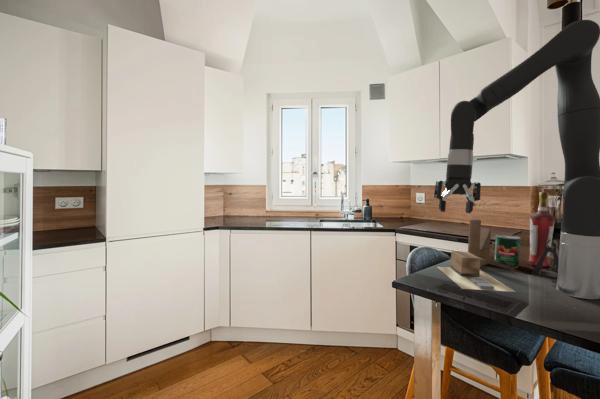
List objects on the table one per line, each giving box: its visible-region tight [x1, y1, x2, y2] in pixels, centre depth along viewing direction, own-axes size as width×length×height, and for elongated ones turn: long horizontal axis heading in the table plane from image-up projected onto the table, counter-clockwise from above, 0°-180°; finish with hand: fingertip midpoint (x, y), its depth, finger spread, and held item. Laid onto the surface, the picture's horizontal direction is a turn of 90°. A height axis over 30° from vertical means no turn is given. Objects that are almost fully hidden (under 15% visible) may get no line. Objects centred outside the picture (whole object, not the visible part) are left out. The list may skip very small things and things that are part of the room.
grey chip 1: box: [471, 278, 488, 284], centre depth 90 cm, size 4×3×1 cm
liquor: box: [527, 191, 556, 269], centre depth 114 cm, size 7×7×28 cm
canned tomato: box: [494, 234, 521, 269], centre depth 115 cm, size 8×8×11 cm
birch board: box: [437, 266, 516, 293], centre depth 95 cm, size 14×22×1 cm, turn 173°
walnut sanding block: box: [450, 250, 481, 277], centre depth 101 cm, size 6×9×6 cm, turn 173°
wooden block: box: [467, 218, 492, 267], centre depth 111 cm, size 4×11×18 cm, turn 126°
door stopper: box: [531, 239, 559, 280], centre depth 103 cm, size 9×6×12 cm, turn 47°
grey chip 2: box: [476, 282, 494, 289], centre depth 87 cm, size 4×3×1 cm
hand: (455, 212), depth 103 cm, fingers open, 8 cm apart
